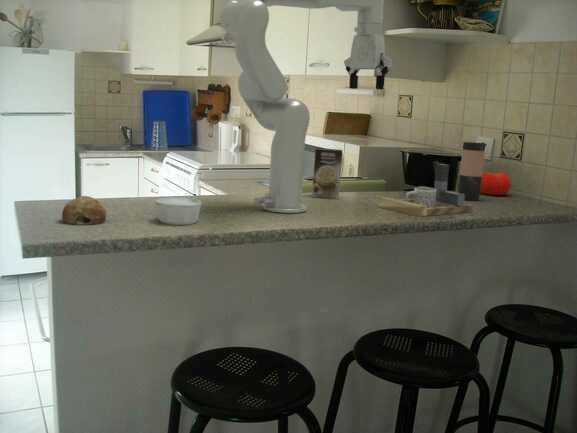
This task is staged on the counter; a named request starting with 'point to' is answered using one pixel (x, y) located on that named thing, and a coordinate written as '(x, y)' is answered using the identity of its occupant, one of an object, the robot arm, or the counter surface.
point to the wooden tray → (420, 207)
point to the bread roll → (84, 211)
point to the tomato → (495, 184)
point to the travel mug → (471, 170)
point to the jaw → (445, 187)
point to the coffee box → (327, 173)
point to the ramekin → (178, 210)
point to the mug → (423, 196)
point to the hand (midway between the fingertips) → (366, 88)
